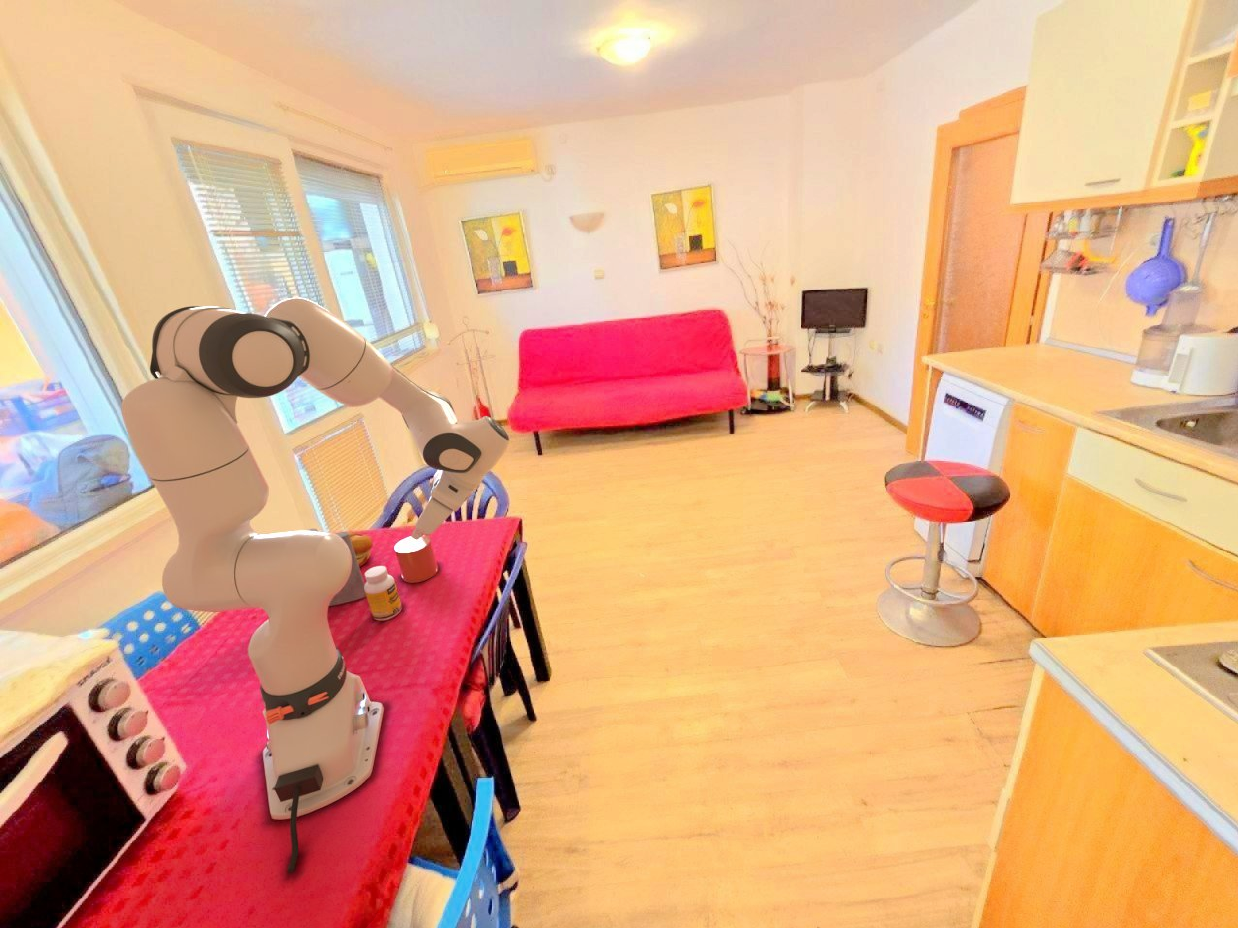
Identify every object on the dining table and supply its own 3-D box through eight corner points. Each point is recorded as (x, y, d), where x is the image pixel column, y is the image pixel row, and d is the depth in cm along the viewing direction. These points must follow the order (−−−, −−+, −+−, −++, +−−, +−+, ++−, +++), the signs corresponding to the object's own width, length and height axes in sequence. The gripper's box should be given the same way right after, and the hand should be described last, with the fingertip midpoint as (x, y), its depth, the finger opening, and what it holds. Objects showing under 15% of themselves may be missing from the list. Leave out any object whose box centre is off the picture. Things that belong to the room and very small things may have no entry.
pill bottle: (391, 622, 116) (378, 580, 112) (367, 620, 118) (353, 578, 113) (408, 605, 122) (396, 564, 118) (384, 603, 123) (372, 562, 119)
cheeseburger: (330, 560, 145) (329, 528, 142) (371, 557, 150) (371, 525, 147) (329, 577, 136) (329, 542, 134) (373, 572, 141) (374, 539, 139)
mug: (440, 575, 133) (433, 545, 130) (403, 586, 129) (395, 556, 126) (434, 555, 143) (427, 527, 140) (400, 566, 139) (392, 537, 136)
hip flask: (368, 590, 129) (347, 521, 122) (365, 599, 125) (342, 529, 118) (301, 603, 126) (275, 533, 119) (295, 612, 123) (268, 541, 115)
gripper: (452, 456, 118) (420, 498, 121) (431, 492, 99) (393, 541, 102) (475, 471, 120) (442, 512, 123) (459, 510, 101) (420, 557, 104)
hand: (420, 526), depth 113 cm, fingers open, 8 cm apart
